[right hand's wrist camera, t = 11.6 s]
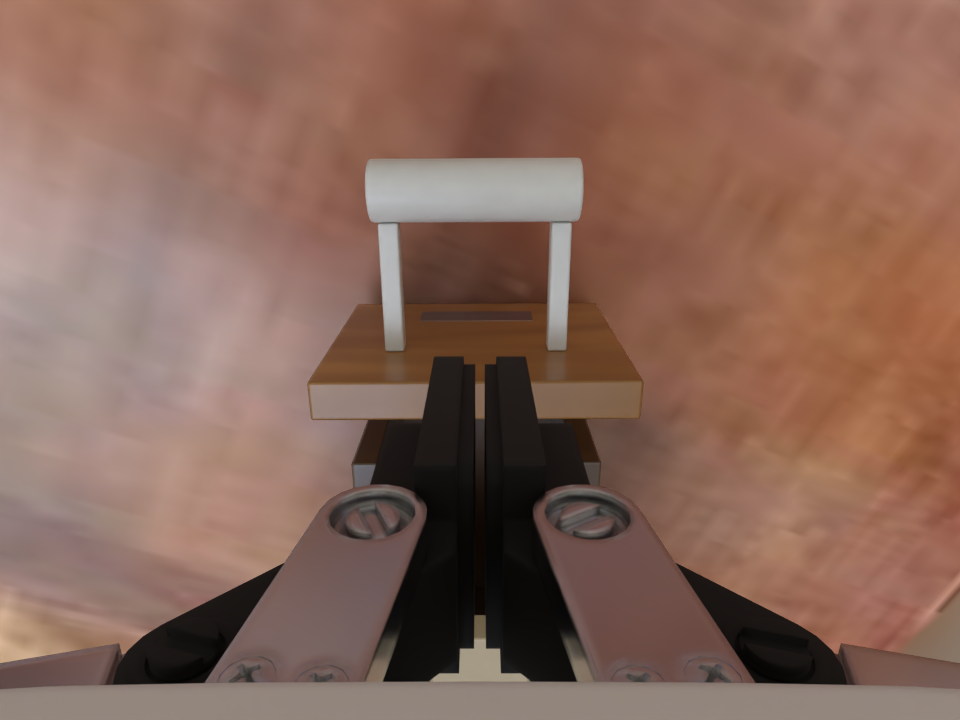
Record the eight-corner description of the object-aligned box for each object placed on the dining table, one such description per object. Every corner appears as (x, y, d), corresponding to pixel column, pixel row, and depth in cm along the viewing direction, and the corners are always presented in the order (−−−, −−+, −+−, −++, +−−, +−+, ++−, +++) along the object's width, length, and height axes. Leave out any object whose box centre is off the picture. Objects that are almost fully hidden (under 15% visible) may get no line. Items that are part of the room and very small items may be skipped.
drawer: (345, 149, 24) (282, 166, 16) (605, 148, 24) (664, 164, 16) (378, 584, 30) (345, 738, 23) (579, 583, 30) (611, 737, 23)
